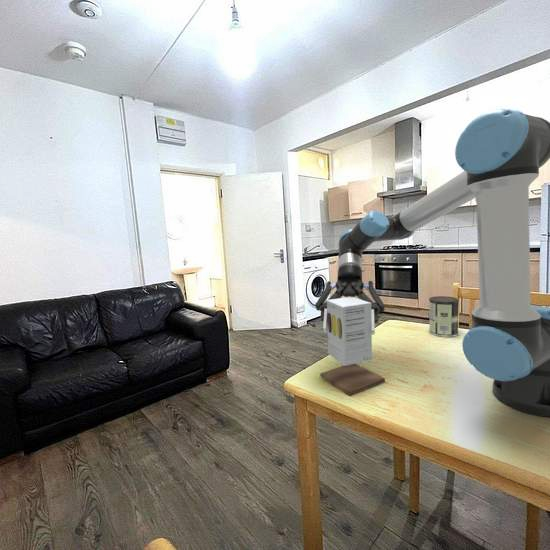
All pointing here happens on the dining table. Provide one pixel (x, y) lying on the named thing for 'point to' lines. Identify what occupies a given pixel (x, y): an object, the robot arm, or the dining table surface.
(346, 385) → the walnut board
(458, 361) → the dining table surface
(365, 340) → the supplement box
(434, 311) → the coffee can
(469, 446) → the dining table surface
